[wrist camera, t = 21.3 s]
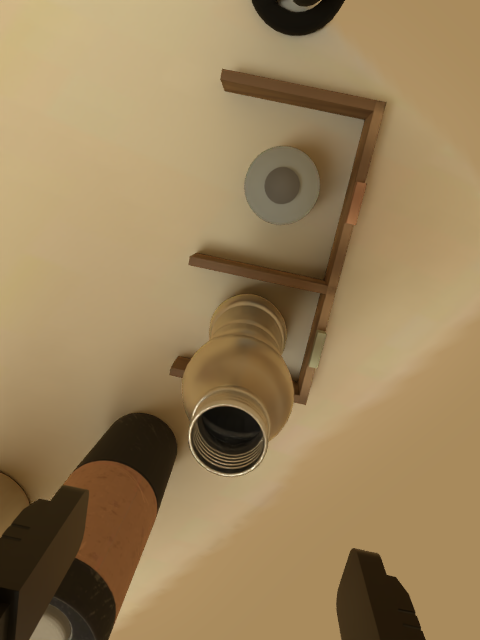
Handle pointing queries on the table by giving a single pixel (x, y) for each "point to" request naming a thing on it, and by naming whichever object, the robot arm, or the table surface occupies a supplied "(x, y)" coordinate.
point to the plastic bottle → (238, 386)
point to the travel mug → (111, 526)
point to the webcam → (297, 15)
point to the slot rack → (348, 217)
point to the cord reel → (282, 185)
